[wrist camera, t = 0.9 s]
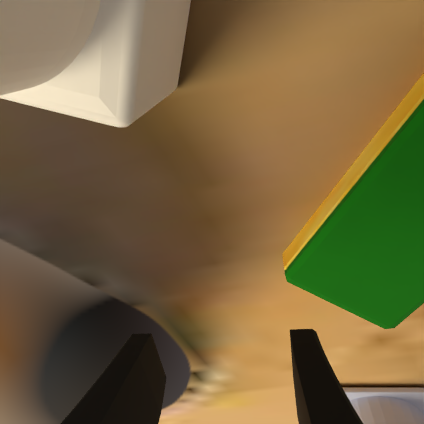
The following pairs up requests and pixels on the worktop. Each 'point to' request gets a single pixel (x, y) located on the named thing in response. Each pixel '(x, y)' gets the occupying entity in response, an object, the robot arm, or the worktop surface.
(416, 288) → the dish sponge
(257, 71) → the worktop surface
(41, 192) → the worktop surface
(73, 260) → the worktop surface
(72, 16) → the medicine bottle
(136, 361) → the robot arm
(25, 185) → the worktop surface
